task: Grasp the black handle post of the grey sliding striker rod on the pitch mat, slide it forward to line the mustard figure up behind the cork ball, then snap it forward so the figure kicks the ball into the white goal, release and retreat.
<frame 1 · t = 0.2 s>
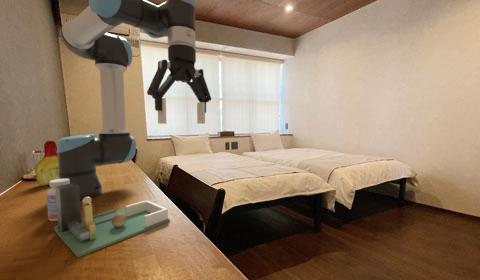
hand: (183, 123, 64), 28 cm above the table, fingers open, 13 cm apart
bottle: (53, 184, 103), on the table
pitch: (115, 225, 60), on the table
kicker: (75, 211, 54), point 6 cm above the table, slide at 0.0 cm
ball: (119, 220, 59), point 2 cm above the table, touching pitch
goal: (144, 219, 64), resting on pitch
pill bottle: (61, 218, 66), on the table
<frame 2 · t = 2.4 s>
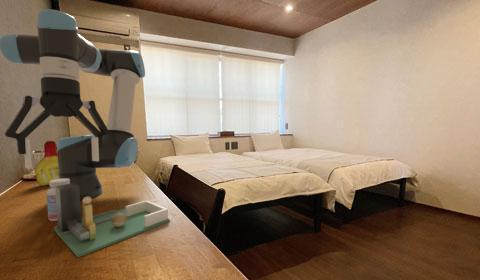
hand: (65, 164, 56), 18 cm above the table, fingers open, 13 cm apart
nothing on the table moved.
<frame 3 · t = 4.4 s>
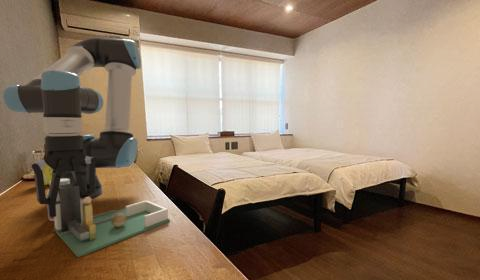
hand: (69, 224, 58), 2 cm above the table, fingers closed on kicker, 4 cm apart
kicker: (75, 211, 54), point 6 cm above the table, slide at 0.0 cm, touching gripper
everything else where it was.
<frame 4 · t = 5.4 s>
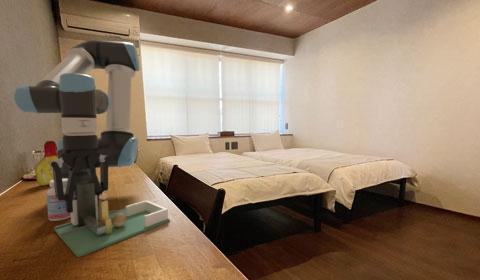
hand: (85, 220, 60), 2 cm above the table, fingers closed on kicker, 4 cm apart
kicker: (91, 206, 57), point 6 cm above the table, slide at 3.4 cm, touching gripper
everything else where it was.
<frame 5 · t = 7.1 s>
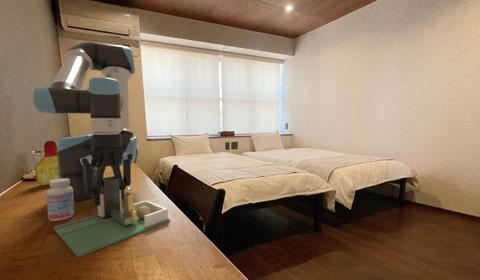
hand: (110, 212, 65), 2 cm above the table, fingers closed on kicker, 4 cm apart
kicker: (117, 200, 62), point 6 cm above the table, slide at 9.8 cm, touching gripper
ball: (143, 212, 64), point 2 cm above the table, tilted 165°, touching pitch
everything else where it was.
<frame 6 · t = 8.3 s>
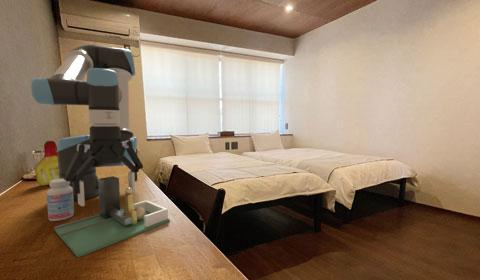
hand: (108, 198, 65), 6 cm above the table, fingers open, 13 cm apart
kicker: (117, 200, 62), point 6 cm above the table, slide at 9.8 cm
ball: (138, 213, 63), point 2 cm above the table, tilted 149°, touching pitch
everything else where it was.
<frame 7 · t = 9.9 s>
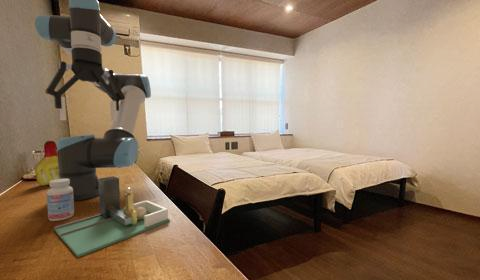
hand: (90, 120, 69), 29 cm above the table, fingers open, 13 cm apart
ball: (139, 213, 63), point 2 cm above the table, tilted 158°, touching pitch
everything else where it was.
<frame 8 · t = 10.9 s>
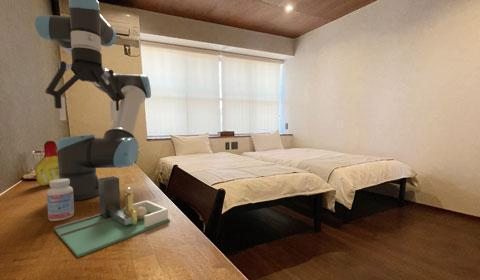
hand: (90, 120, 69), 29 cm above the table, fingers open, 13 cm apart
ball: (140, 213, 63), point 2 cm above the table, tilted 163°, touching pitch
everything else where it was.
at the end: ball inside the target area on the goal (1.4 cm from its centre), point 2.4 cm above the goal's base; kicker slide at 9.8 cm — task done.
